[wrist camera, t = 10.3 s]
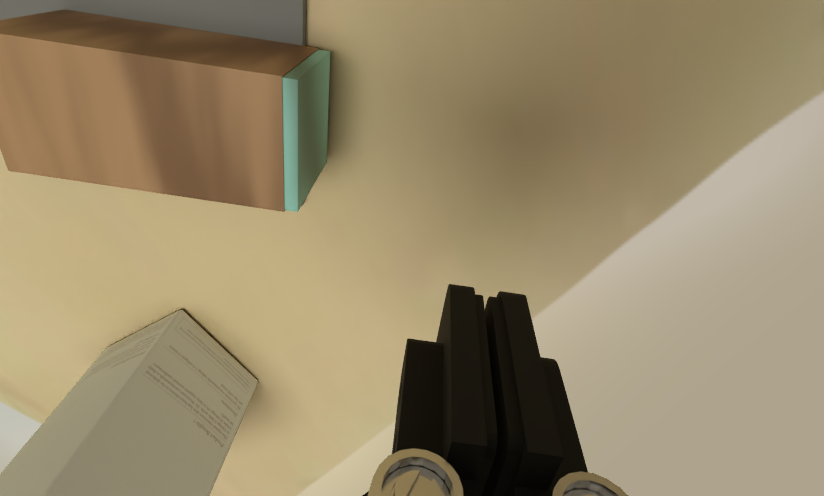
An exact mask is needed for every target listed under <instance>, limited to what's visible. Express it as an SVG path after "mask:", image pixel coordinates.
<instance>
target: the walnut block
mask: <svg viewBox="0 0 824 496" xmlns="http://www.w3.org/2000/svg"><path fill="white" fill-rule="evenodd" d="M329 76H330V51H325V50H319V48H316V47H309V46H303V45H296V44H290V43H283V42H276V41H270V40H263V39H257V38H250V37H243V36H237V35H230V34H224V33H217V32H210V31H204V30H197V29H191V28H184V27H177V26H171V25H164V24H158V23H151V22H144V21H138V20H131V19H125V18H118V17H111V16H105V15H98V14H92V13H85V12H78V11H72V10H65V9H63V10H57V11H51V12H45V13H39V14H33V15H27V16H21V17H15V18H9V19H3V20H0V149H1V152H2V154H3V157H4V160H5V163H6V166H7V168H8V171H14V172H21V173H28V174H34V175H41V176H48V177H55V178H61V179H68V180H75V181H81V182H88V183H95V184H102V185H108V186H115V187H122V188H128V189H135V190H142V191H149V192H155V193H162V194H169V195H175V196H182V197H189V198H196V199H202V200H209V201H216V202H222V203H229V204H236V205H243V206H249V207H256V208H263V209H269V210H276V211H283V212H284V211H285V210H288V211H295V212H298V211H299V209H300V207H301V205H302V204H303V202H304V200H305V199H306V197H307V195H308V193H309V192H310V190H311V188H312V186H313V185H314V183H315V181H316V180H317V178H318V176H319V174H320V173H321V171H322V169H323V168H324V166H325V164H326V162H327V135H328V106H329Z"/></svg>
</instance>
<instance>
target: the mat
mask: <svg viewBox="0 0 824 496" xmlns="http://www.w3.org/2000/svg"><path fill="white" fill-rule="evenodd" d="M63 9H65V10H72V11H78V12H85V13H92V14H98V15H105V16H111V17H118V18H125V19H131V20H138V21H144V22H151V23H158V24H164V25H171V26H177V27H184V28H191V29H197V30H204V31H210V32H217V33H224V34H230V35H237V36H243V37H250V38H257V39H263V40H270V41H276V42H283V43H290V44H296V45H303V46H306V0H0V20H3V19H9V18H15V17H21V16H27V15H33V14H39V13H45V12H51V11H57V10H63ZM304 202H305V200H304ZM304 202H303V203H304ZM302 205H303V204H302ZM302 205H301V206H302Z"/></svg>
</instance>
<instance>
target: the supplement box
mask: <svg viewBox="0 0 824 496" xmlns="http://www.w3.org/2000/svg"><path fill="white" fill-rule="evenodd" d="M257 383H258V380H257V379H256V378H254V377H253V376H252V375H251V374H250V373H249V372H248V371H247V370H246V369H245V368H244V367H242V366H241V365H240V364H239V363H238V362H237V361H236V360H235V359H234V358H233V357H232V356H231V355H230V354H229V353H228V352H227V351H225V350H224V349H223V348H222V347H221V346H220V345H219V344H218V343H217V342H216V341H215V340H214V339H213V338H212V337H211V336H209V335H208V334H207V333H206V332H205V331H204V330H203V329H202V328H201V327H200V326H199V325H198V324H197V323H196V322H195V321H194V320H193V319H191V318H190V317H189V316H188V315H187V314H186V313H185V312H184V311H183V310H179V311H177V312H175V313H173V314H171V315H169V316H167V317H165V318H163V319H161V320H159V321H157V322H155V323H153V324H151V325H149V326H147V327H146V328H144V329H141V330H139V331H138V332H136V333H134V334H132V335H130V336H128V337H126V338H124V339H122V340H121V341H118V342H116V343H115V344H113V345H111V346H109V347H107V348H106V349H105V350H104V351H103V352H102V353H101V355H100V356H99V357H98V358H97V360H96V361H95V362H94V363H93V364H92V366H91V367H90V368H89V369H88V370H87V372H86V373H85V374H84V375H83V376H82V377H81V379H80V380H79V381H78V382H77V383H76V385H75V386H74V387H73V388H72V389H71V391H70V392H69V393H68V394H67V395H66V397H65V398H64V399H63V400H62V401H61V403H60V404H59V405H58V406H57V407H56V409H55V410H54V411H53V412H52V413H51V415H50V416H49V417H48V418H47V419H46V420H45V422H44V423H43V424H42V425H41V427H40V428H39V429H38V430H37V431H36V432H35V434H34V435H33V436H32V437H31V438H30V439H29V441H28V442H27V443H26V444H25V445H24V446H23V448H22V449H21V450H20V451H19V452H18V454H17V455H16V456H15V457H14V458H13V460H12V461H11V462H10V463H9V465H8V466H7V467H6V468H5V469H4V470H3V472H2V473H1V474H0V496H209V495H210V493H211V490H212V488H213V486H214V483H215V481H216V479H217V476H218V474H219V472H220V470H221V467H222V465H223V463H224V460H225V458H226V456H227V453H228V451H229V449H230V446H231V444H232V442H233V439H234V437H235V435H236V433H237V430H238V428H239V426H240V423H241V421H242V419H243V416H244V414H245V411H246V409H247V406H248V404H249V402H250V399H251V397H252V395H253V392H254V390H255V388H256V385H257Z"/></svg>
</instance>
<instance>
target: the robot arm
mask: <svg viewBox="0 0 824 496" xmlns="http://www.w3.org/2000/svg"><path fill="white" fill-rule="evenodd" d="M363 496H628V495H627V494H626V493H625V492H624V491H623V490H622V489H621V488H620V487H618V486H617V485H615V484H614V483H612V482H611V481H609V480H608V479H606V478H604V477H601V476H599V475H596V474H594V473H588V471H587V467H586V464H585V460H584V456H583V453H582V449H581V445H580V442H579V438H578V434H577V431H576V427H575V424H574V420H573V416H572V413H571V410H570V405H569V402H568V398H567V394H566V391H565V387H564V384H563V380H562V377H561V373H560V369H559V366H558V364H557V362H556V361H555V360H554V359H548V358H541V357H540V354H539V349H538V346H537V341H536V337H535V332H534V328H533V324H532V320H531V315H530V311H529V307H528V303H527V298H526V296H525V295H522V294H515V293H508V292H501V291H500V292H499V293H498V295H497V297H489V298H488V301H487V304H486V308H485V310H484V301H483V296H482V295H476V294H475V291H474V288H473V287H466V286H459V285H452V284H449V286H448V289H447V293H446V298H445V303H444V308H443V312H442V317H441V322H440V327H439V332H438V336H437V341H436V342H429V341H422V340H415V339H407V344H406V350H405V356H404V362H403V368H402V375H401V382H400V389H399V397H398V406H397V415H396V424H395V433H394V442H393V451H392V455H389V456H388V457H387V458H386V459H385V460H384V461H383V462H382V463H381V464H380V465H379V467H378V469H377V471H376V473H375V474H374V476H373V480H372V483H371V486H370V490H369V491H368V492H367V493H366V494H365V495H363Z"/></svg>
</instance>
